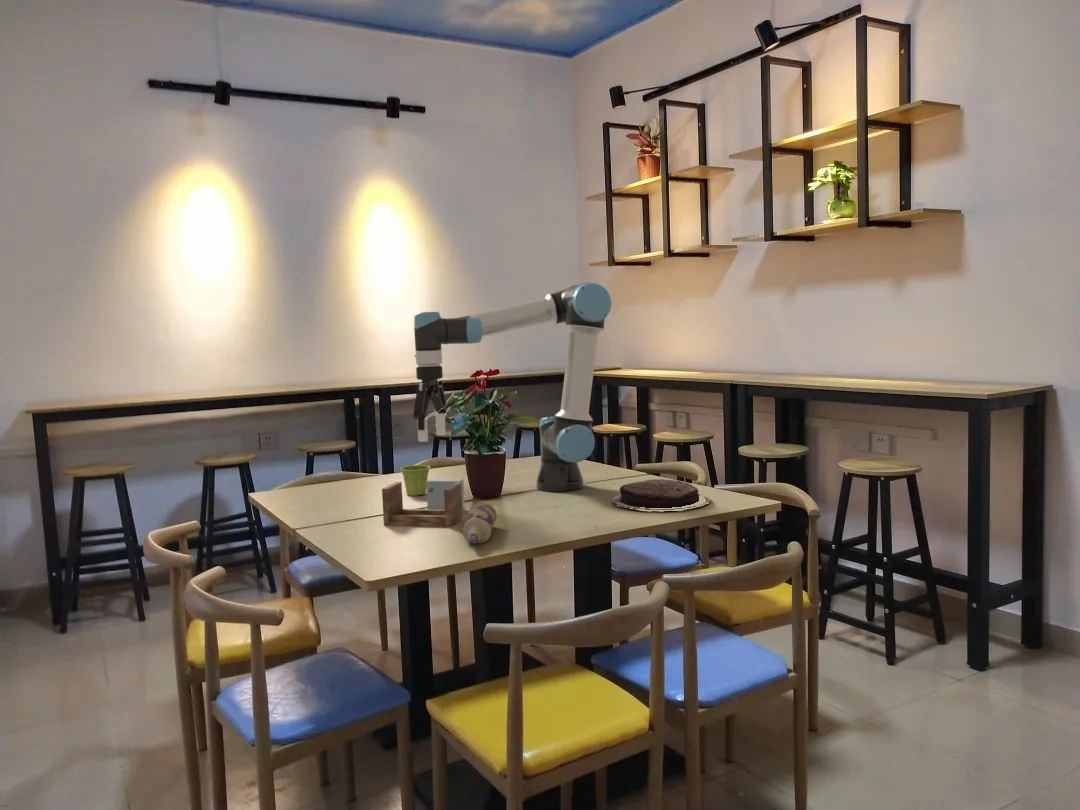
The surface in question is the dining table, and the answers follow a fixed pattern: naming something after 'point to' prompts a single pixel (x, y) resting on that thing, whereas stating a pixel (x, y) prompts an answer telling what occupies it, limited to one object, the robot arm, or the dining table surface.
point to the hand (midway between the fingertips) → (432, 438)
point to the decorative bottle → (479, 523)
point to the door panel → (440, 492)
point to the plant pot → (415, 479)
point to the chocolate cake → (658, 495)
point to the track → (421, 517)
